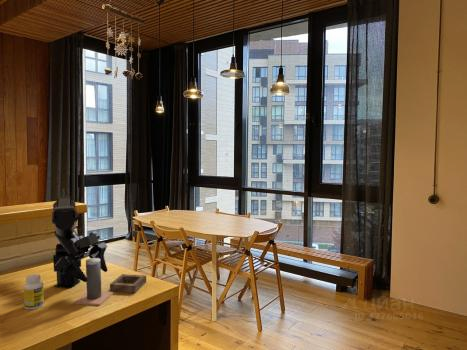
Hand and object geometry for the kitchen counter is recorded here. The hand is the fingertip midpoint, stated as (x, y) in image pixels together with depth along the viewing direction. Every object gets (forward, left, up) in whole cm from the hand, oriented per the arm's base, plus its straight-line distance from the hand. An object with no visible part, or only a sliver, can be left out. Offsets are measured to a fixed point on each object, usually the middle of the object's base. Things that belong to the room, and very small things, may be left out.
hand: (97, 276), depth 115 cm
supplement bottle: (-17, -8, -8) cm, 21 cm away
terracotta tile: (-1, 0, -8) cm, 8 cm away
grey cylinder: (-1, 0, -7) cm, 7 cm away
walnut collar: (+6, +11, -8) cm, 15 cm away
